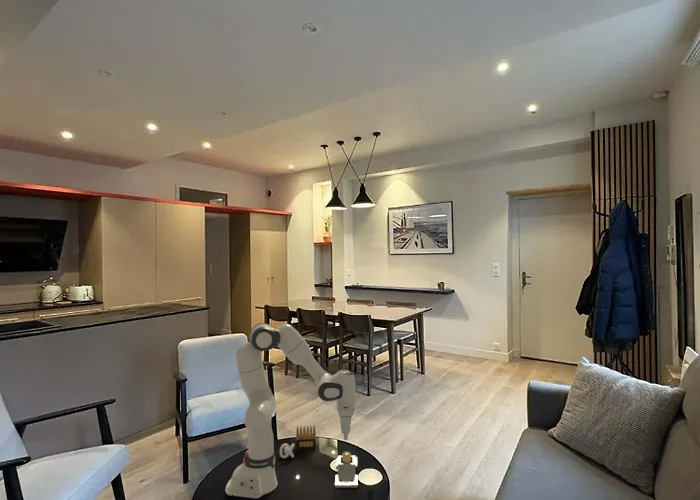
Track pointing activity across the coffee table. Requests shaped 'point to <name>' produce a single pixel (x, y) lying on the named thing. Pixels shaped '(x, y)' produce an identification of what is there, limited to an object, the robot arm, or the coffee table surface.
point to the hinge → (346, 474)
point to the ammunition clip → (306, 438)
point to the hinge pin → (346, 457)
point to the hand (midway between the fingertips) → (345, 434)
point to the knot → (287, 450)
